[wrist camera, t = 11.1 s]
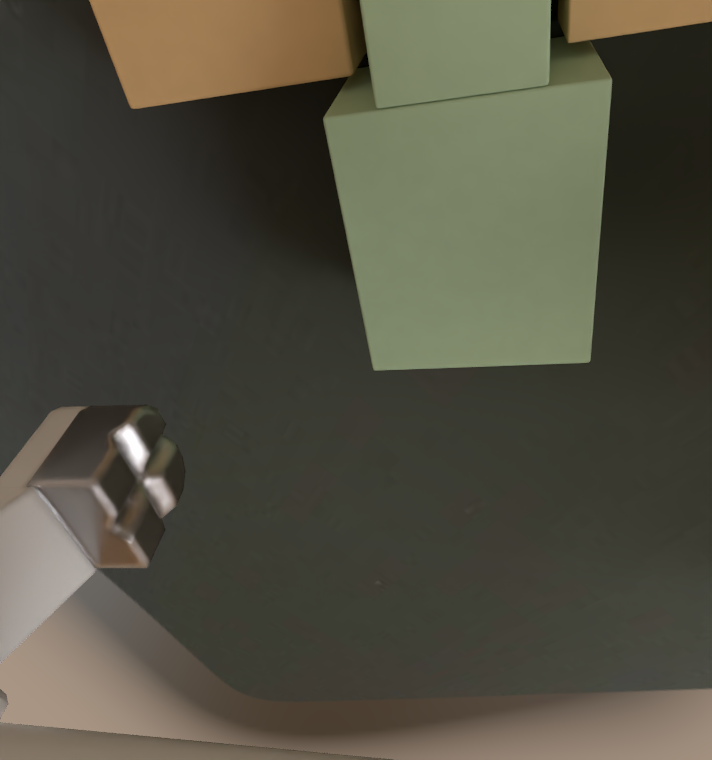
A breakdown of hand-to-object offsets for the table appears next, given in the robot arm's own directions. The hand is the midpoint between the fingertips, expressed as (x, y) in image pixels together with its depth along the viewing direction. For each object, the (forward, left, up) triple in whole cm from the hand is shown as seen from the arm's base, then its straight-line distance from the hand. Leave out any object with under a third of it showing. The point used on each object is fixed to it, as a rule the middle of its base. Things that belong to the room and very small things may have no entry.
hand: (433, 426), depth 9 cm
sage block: (0, +1, -9) cm, 9 cm away
